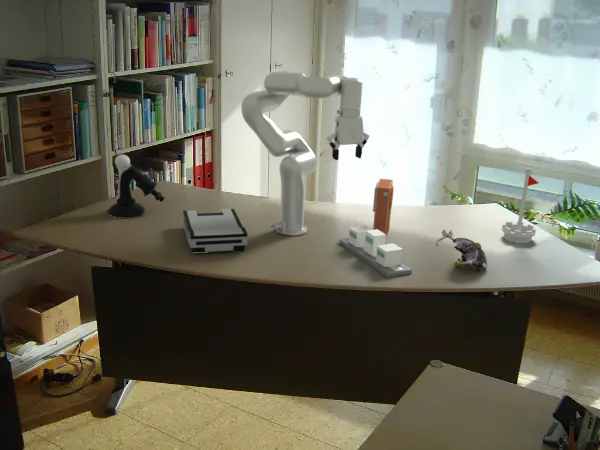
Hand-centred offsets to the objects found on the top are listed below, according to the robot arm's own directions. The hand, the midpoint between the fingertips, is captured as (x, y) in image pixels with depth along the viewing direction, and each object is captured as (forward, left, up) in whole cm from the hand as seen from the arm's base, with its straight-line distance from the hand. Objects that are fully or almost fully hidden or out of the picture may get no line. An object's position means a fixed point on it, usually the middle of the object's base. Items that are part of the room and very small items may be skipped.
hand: (346, 158), depth 257 cm
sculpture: (-65, +62, -35) cm, 96 cm away
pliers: (+43, -9, -35) cm, 56 cm away
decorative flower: (+33, -36, -35) cm, 60 cm away
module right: (+5, -26, -33) cm, 42 cm away
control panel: (+21, +5, -34) cm, 41 cm away
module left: (+5, -6, -33) cm, 33 cm away
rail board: (+5, -16, -34) cm, 38 cm away
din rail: (+5, -16, -33) cm, 37 cm away
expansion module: (+5, -16, -32) cm, 37 cm away
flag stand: (+72, -19, -35) cm, 82 cm away
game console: (-45, +21, -35) cm, 61 cm away
